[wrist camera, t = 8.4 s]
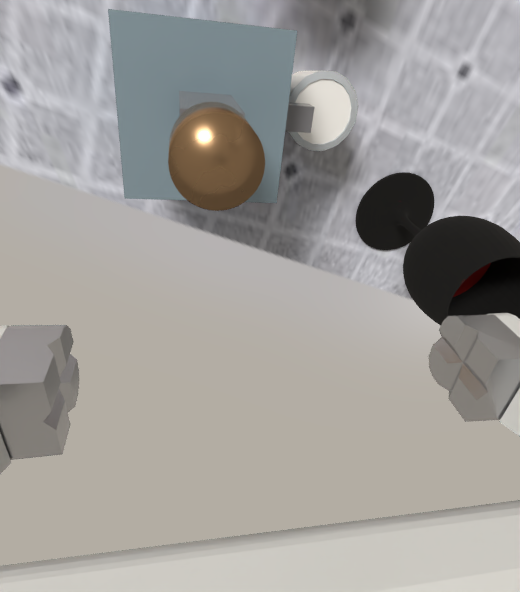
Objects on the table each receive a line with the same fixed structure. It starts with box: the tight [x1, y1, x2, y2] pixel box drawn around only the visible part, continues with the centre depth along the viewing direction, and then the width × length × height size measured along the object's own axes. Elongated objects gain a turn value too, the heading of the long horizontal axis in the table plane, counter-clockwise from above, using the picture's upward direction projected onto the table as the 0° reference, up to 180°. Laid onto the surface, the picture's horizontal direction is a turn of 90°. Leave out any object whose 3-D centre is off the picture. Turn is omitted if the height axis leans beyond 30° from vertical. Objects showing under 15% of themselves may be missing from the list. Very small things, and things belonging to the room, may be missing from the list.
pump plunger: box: [168, 102, 265, 211], centre depth 25 cm, size 5×5×11 cm
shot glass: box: [289, 71, 358, 151], centre depth 40 cm, size 7×7×7 cm
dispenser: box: [108, 9, 315, 203], centre depth 33 cm, size 15×12×21 cm
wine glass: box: [356, 173, 520, 325], centre depth 44 cm, size 10×10×20 cm
